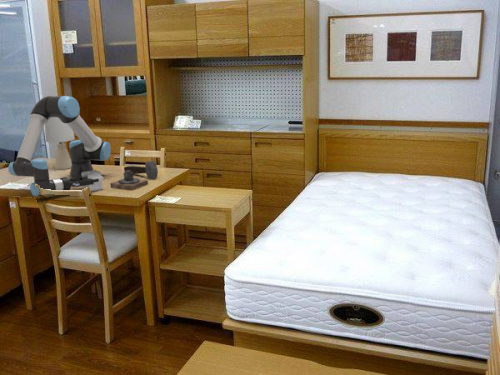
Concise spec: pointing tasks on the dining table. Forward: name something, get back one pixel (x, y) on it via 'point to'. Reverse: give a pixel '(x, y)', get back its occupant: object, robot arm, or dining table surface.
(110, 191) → the dining table surface
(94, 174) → the grey block
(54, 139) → the lamp
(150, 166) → the hammer
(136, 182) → the post base
